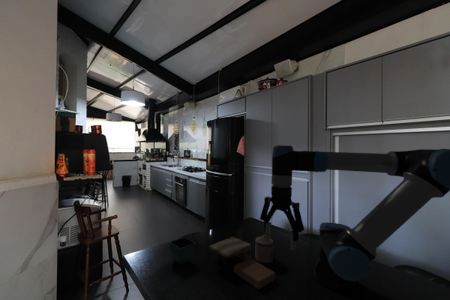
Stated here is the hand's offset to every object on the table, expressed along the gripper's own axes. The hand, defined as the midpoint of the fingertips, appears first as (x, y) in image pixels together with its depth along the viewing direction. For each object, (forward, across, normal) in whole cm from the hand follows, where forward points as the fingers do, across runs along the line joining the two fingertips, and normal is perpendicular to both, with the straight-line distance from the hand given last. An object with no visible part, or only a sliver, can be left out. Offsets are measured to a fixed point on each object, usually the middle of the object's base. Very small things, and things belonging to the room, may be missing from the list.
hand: (280, 243), depth 80 cm
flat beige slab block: (+18, +26, 0) cm, 31 cm away
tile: (+18, +12, 0) cm, 22 cm away
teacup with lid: (+18, +18, -16) cm, 30 cm away
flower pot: (+18, +42, +16) cm, 48 cm away
